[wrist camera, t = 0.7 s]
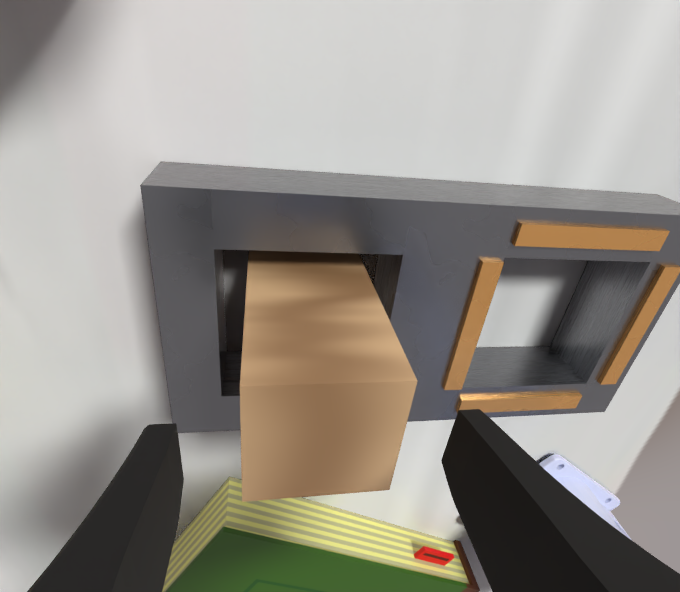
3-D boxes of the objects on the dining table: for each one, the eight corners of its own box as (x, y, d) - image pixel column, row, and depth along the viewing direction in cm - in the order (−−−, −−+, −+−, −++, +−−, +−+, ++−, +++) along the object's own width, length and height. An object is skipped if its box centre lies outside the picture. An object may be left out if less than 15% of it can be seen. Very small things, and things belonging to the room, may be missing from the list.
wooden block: (355, 246, 17) (417, 381, 10) (343, 331, 19) (389, 489, 12) (249, 242, 16) (239, 386, 9) (249, 331, 18) (242, 501, 11)
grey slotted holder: (657, 194, 18) (722, 219, 15) (568, 373, 23) (607, 414, 20) (161, 161, 14) (138, 187, 12) (185, 384, 19) (173, 437, 16)
